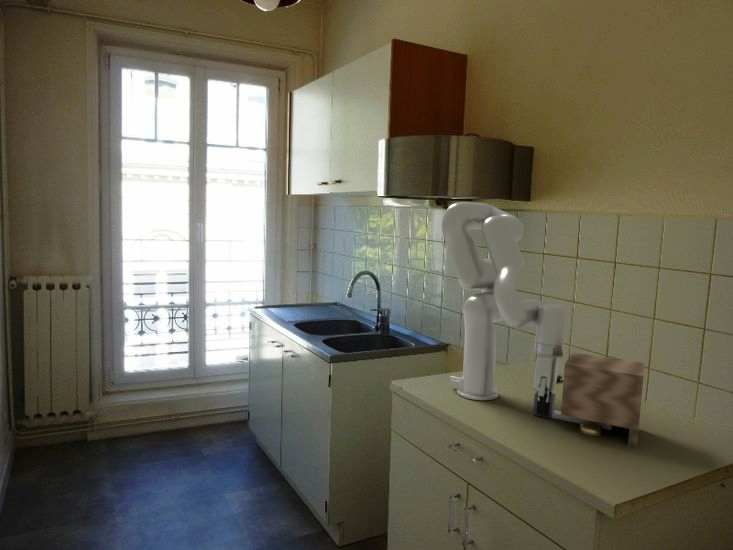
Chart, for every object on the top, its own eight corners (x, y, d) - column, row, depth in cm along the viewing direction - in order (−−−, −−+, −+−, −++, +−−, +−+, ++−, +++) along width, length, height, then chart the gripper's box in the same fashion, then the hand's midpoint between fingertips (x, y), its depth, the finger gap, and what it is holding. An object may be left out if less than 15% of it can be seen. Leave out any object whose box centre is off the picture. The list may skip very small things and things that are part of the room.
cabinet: (559, 431, 140) (564, 364, 138) (567, 414, 152) (572, 352, 150) (636, 447, 132) (643, 376, 130) (638, 428, 144) (644, 362, 142)
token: (578, 433, 140) (579, 427, 140) (581, 427, 144) (581, 420, 144) (599, 438, 138) (600, 431, 137) (601, 431, 142) (602, 424, 142)
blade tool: (533, 414, 151) (534, 393, 150) (535, 410, 154) (537, 390, 153) (611, 430, 142) (613, 408, 141) (612, 426, 145) (614, 404, 144)
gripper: (540, 341, 158) (536, 401, 160) (528, 353, 144) (523, 419, 146) (567, 344, 155) (562, 406, 157) (558, 357, 140) (552, 425, 142)
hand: (543, 412), depth 151 cm, fingers closed on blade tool, 3 cm apart
